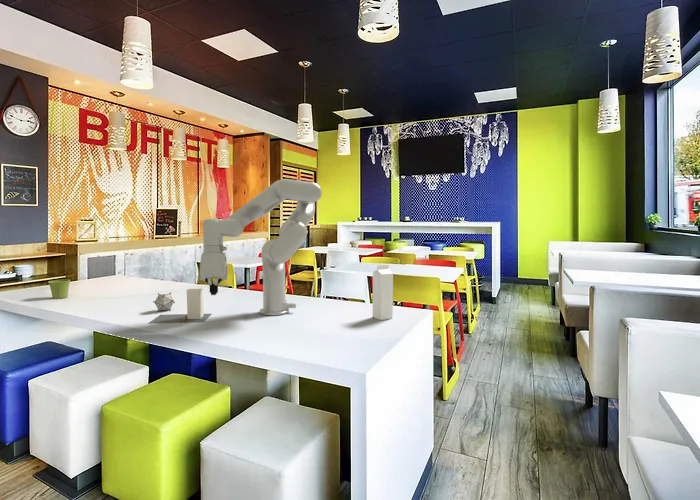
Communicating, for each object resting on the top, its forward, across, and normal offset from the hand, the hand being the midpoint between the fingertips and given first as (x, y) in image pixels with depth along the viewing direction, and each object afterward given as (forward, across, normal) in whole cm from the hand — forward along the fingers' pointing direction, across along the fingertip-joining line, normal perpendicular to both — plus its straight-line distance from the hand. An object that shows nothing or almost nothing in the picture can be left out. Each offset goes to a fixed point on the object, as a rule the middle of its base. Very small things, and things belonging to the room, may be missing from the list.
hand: (213, 294), depth 161 cm
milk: (+10, -69, +6) cm, 70 cm away
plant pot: (+11, +86, -50) cm, 100 cm away
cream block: (+10, +7, 0) cm, 12 cm away
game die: (+10, +24, -15) cm, 30 cm away
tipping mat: (+10, +13, 0) cm, 16 cm away
